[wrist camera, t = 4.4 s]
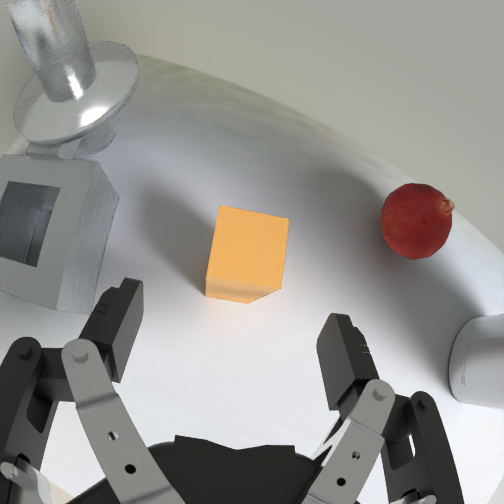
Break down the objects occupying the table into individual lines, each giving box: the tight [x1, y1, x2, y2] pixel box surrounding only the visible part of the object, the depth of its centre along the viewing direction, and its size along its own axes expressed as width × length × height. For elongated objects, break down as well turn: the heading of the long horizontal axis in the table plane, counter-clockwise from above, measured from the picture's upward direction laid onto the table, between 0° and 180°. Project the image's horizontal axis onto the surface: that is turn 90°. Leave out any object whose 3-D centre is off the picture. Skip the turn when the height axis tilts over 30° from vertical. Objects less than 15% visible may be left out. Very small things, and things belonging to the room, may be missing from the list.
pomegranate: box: [381, 183, 455, 260], centre depth 20 cm, size 6×6×8 cm
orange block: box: [205, 205, 289, 304], centre depth 16 cm, size 3×3×9 cm
